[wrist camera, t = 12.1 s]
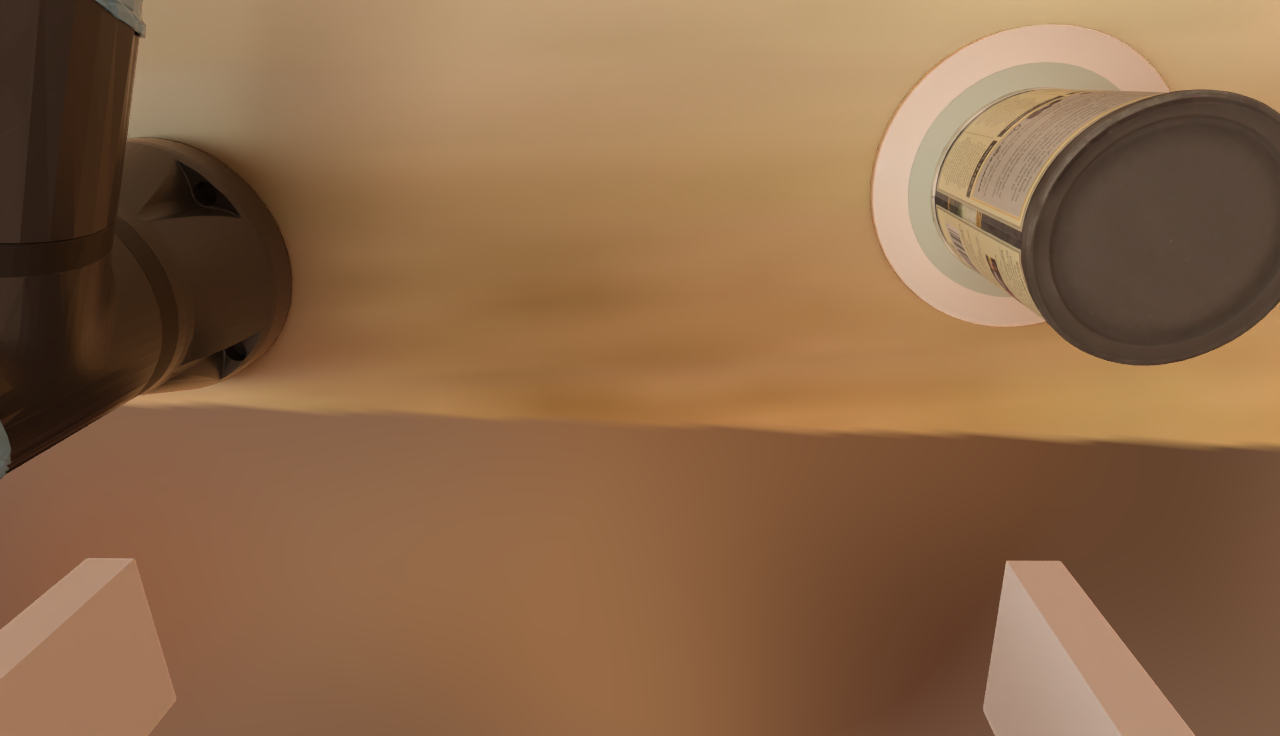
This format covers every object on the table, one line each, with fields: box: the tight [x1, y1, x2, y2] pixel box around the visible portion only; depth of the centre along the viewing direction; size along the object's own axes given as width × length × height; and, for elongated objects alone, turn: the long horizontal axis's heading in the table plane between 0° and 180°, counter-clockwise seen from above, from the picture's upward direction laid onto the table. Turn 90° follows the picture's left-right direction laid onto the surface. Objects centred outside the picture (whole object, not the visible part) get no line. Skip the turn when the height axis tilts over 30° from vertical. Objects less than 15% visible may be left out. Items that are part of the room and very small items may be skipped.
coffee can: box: [931, 87, 1280, 365], centre depth 36 cm, size 10×10×14 cm
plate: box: [870, 24, 1170, 327], centre depth 43 cm, size 16×16×1 cm
